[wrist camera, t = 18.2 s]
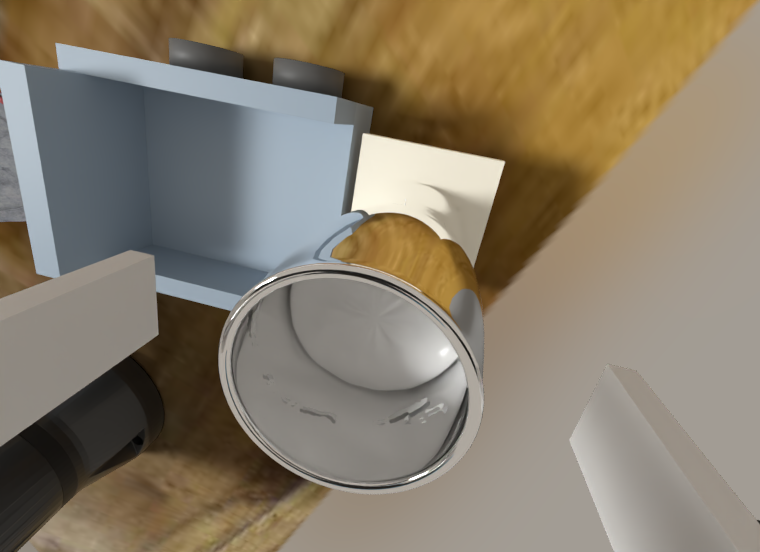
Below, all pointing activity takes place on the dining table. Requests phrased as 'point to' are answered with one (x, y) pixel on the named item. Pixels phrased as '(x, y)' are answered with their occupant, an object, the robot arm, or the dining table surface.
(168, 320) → the dining table surface
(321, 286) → the beer glass
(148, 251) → the trailer
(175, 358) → the dining table surface
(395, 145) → the tailgate
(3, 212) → the canned food
